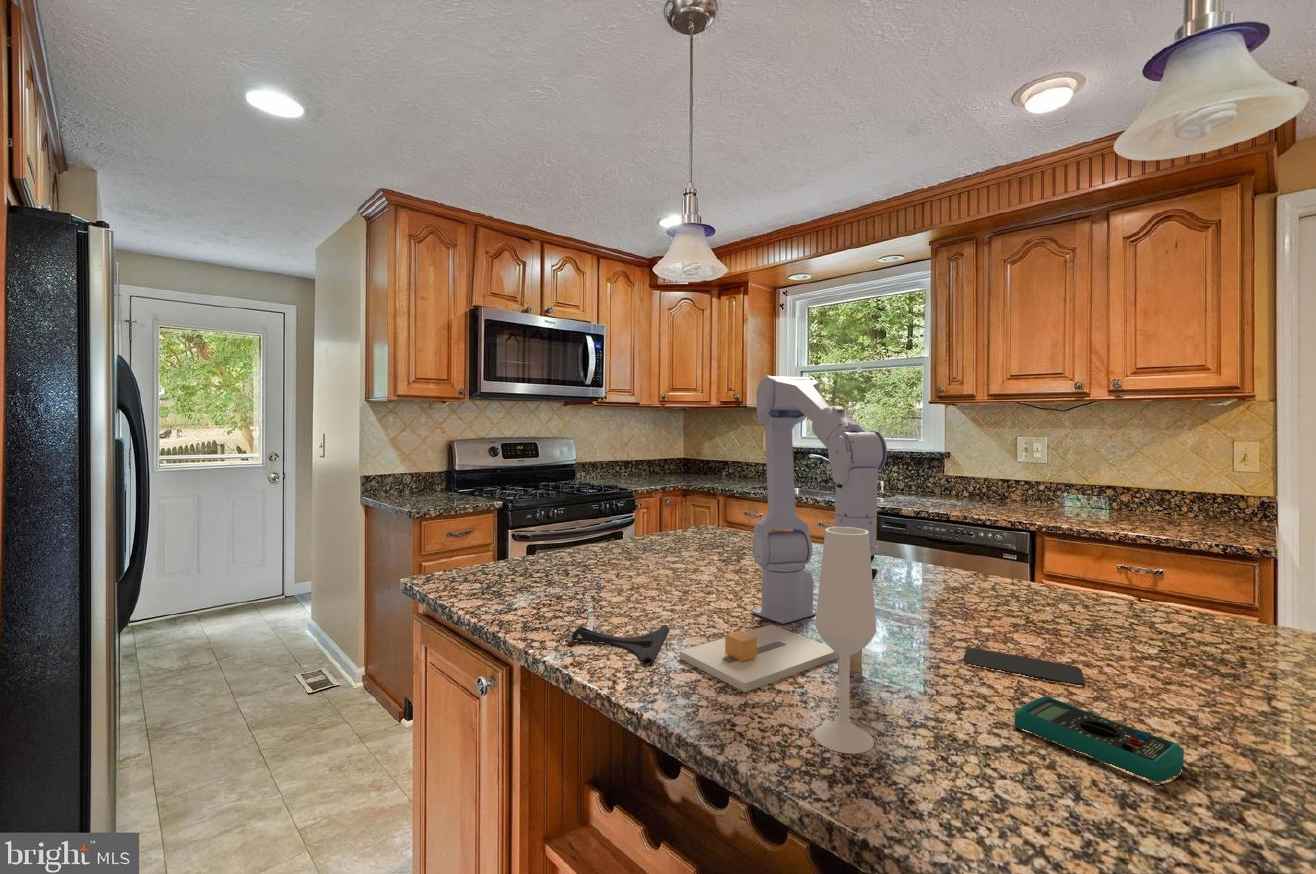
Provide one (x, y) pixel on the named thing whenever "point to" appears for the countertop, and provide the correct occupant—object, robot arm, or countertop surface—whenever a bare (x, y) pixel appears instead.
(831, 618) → the champagne flute
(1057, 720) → the digital multimeter
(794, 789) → the countertop surface
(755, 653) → the block
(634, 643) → the bracket
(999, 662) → the phone
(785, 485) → the robot arm
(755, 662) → the switch panel
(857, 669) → the tall stone pillar
